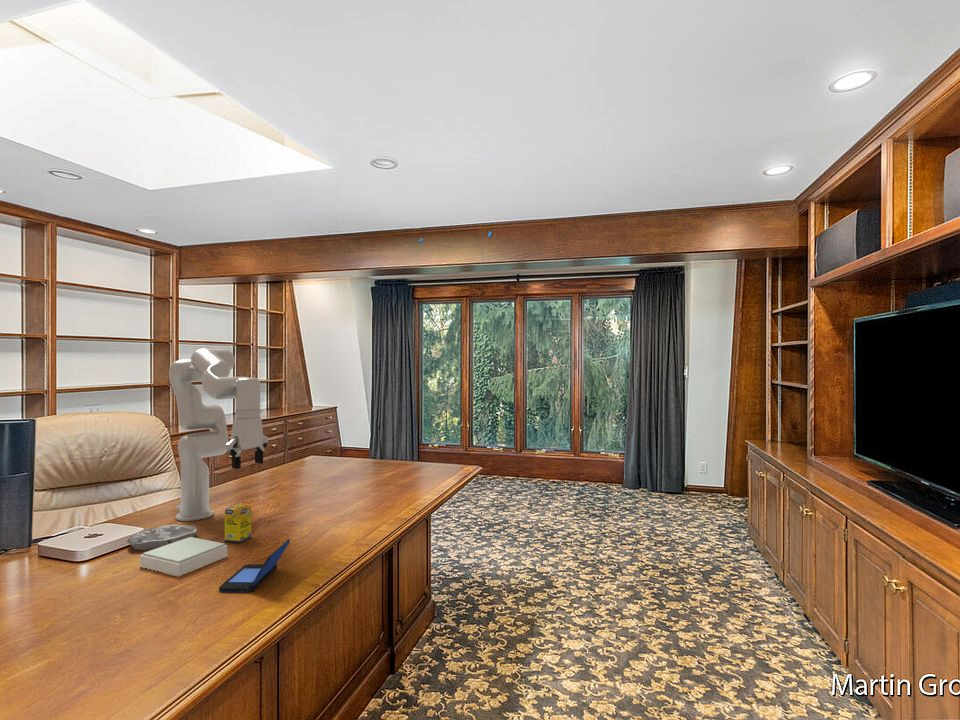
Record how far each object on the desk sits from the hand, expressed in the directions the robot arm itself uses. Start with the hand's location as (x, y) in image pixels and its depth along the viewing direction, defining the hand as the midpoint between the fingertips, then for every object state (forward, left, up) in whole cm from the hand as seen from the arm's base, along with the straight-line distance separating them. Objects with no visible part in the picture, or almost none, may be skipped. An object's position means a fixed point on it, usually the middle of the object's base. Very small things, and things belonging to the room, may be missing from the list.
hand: (247, 465), depth 173 cm
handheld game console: (+28, -23, -25) cm, 44 cm away
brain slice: (-24, -13, -25) cm, 37 cm away
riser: (-1, -22, -24) cm, 33 cm away
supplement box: (-2, -2, -25) cm, 25 cm away
